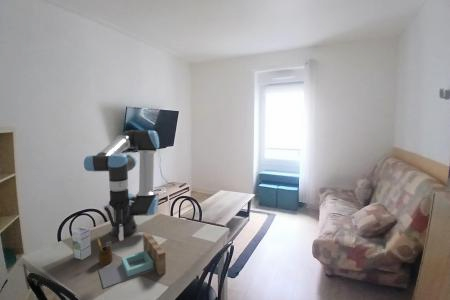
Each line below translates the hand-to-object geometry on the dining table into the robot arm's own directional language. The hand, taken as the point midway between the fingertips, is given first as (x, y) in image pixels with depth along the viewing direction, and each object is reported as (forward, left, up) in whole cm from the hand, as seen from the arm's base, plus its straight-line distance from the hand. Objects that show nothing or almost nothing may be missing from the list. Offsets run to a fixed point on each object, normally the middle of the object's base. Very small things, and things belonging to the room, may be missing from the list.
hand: (121, 239), depth 104 cm
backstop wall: (0, +15, -16) cm, 22 cm away
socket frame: (0, +7, -16) cm, 17 cm away
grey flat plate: (0, +2, -16) cm, 16 cm away
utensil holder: (-13, -5, -16) cm, 21 cm away
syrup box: (-25, -14, -16) cm, 33 cm away
